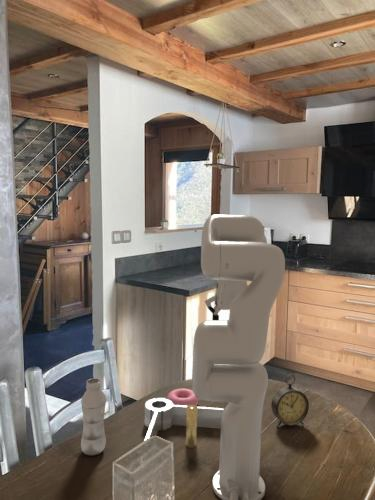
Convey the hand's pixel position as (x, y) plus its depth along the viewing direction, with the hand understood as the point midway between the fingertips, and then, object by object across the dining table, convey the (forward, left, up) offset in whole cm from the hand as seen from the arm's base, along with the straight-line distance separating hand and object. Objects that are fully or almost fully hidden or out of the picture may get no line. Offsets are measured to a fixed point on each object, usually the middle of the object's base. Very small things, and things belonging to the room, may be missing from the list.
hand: (230, 325), depth 134 cm
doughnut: (+1, +15, -29) cm, 33 cm away
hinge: (-20, +13, -29) cm, 37 cm away
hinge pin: (-22, +10, -29) cm, 37 cm away
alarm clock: (-7, -19, -29) cm, 35 cm away
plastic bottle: (-29, +36, -29) cm, 54 cm away
